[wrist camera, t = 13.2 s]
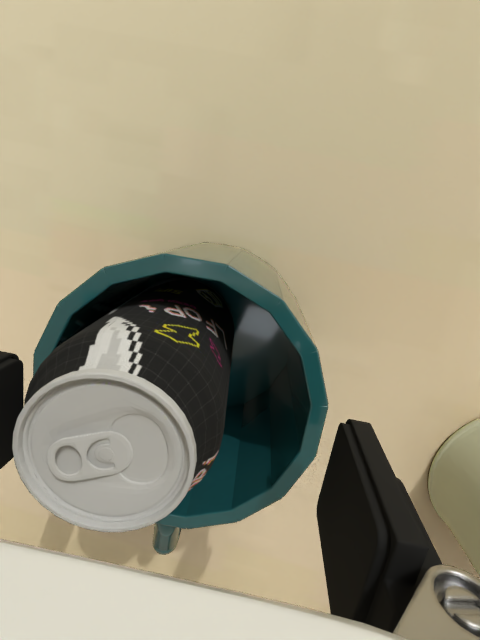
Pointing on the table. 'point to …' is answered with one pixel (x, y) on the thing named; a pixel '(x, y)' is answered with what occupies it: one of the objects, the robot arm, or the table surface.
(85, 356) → the beverage can
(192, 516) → the mug
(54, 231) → the table surface
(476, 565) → the can
